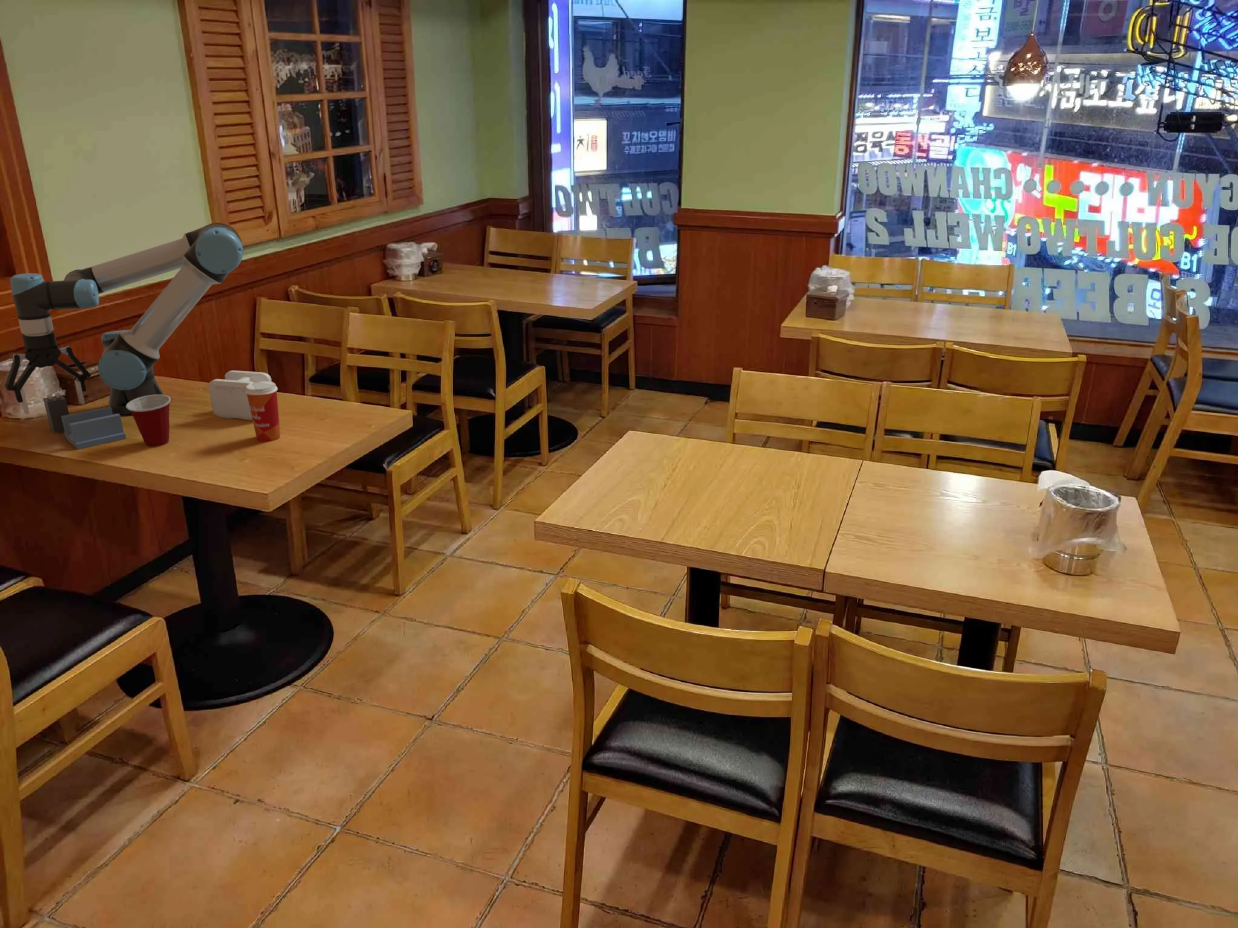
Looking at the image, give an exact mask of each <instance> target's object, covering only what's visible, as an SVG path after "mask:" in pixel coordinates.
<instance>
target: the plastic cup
mask: <svg viewBox="0 0 1238 928" xmlns="http://www.w3.org/2000/svg"><path fill="white" fill-rule="evenodd" d="M171 399H172V398H171V397H170V396H169V395H166V394H164V395H148V396H143V397H139V398H136V399H134V400H132V401H130V402H129V403H127V405H126V408H127V409H128V410H129V411H130V412H131V414H130V415H131V416H132V417H133V420H134V421H135V424H136V427H137V429H138V431H139V433H140V435H141V438H142V440H143V442H144V444H145V446H147V447H149V448H150V447H161V446H165V445H167V444H168V443H169V442H170V403H171Z"/></svg>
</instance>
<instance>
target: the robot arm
mask: <svg viewBox="0 0 1238 928" xmlns="http://www.w3.org/2000/svg"><path fill="white" fill-rule="evenodd" d="M243 247H244V246H243V244H242V239H241V237H240V235H239V233H238V232H237V231H236V230H235V229H234V228H233V227H232V226H230V225H228V224H226V223H222V222H213V223H209V224H206V225H204V226H201V227H200V228H198V229H195V230H192V231H189V232H186V233H184V234H183V236H182V237H181V238H179V239H176V240H172V241H170V242H167V243H163V244H159V245H157V246H153V247H150V248H147V249H144V250H141V251H137V252H134V253H131V254H128V255H125V256H121V257H118V258H114V259H112V260H109V261H105V262H102V263H98V264H95V265H93V266H90V267H86V268H82V269H78V268H77V269H74V270H72V271H70V272H68V273H67V274H66V275H65V276H64V279H63V280H54V281H53V280H52V281H50V280H45V279H44V278H43V275H42V274H40V273H34V272H33V273H32V272H30V273H29V272H28V273H20V274H14V275H13V276H12V277H10V280H9V281H10V288H11V296H12V300H13V302H14V306H15V311H16V314H17V318H18V324H19V329H20V333H21V334H22V336H21V339H22V341H23V346H24V353H16V352H13V354H12V355H11V356H12V363H11V367H10V369H9V372H8V375H7V378H6V381H5V385H4V388H5V389H6V390H7V391H9V392H10V391H13V392H14V395H15V399H16V402H18V404H20V403H21V406H22V409H23V413H24V414H25V415H30V410H29V405H28V402H27V398H26V393H25V390H24V389H23V388H24V386H25V384H26V383H27V381H28V379H29V378H30V376H31V375H32V374H33V372H34V371H35V370H36V368H40V369H41V368H43V369H44V368H45V367H54V365H57V366H59V367H61V368H62V369H63V370H65V371H66V372H67V373H69V374H70V375H72V376H73V377H75V378H76V379H74V383H75V388H76V393H77V397H78V402H79V404H81V405H85V404H86V403H85V397H84V393H83V392H86V391H87V387H86V384H85V383H86V382H85V380H86V379H87V378H91V376H92V374H91V373H90V372H89V371H88V370H87V368H86V367H85V366H84V365H83V364H82V362H81V361H80V360H79V359H78V358H77V357H76V356H75V354H74V351H73V349H72V347H70V346H69V345H65V346H64V347H60V348H59V347H58V343H57V339H56V334H55V332H54V330H55V329H54V324H53V320H52V315H51V311H56V310H73V309H74V310H75V309H77V310H78V309H82V310H86V309H89V308H96V307H99V304H100V294H103V293H106V292H109V291H112V290H115V289H119V288H122V287H125V286H128V285H131V284H134V283H138V282H141V281H143V280H148V279H150V278H153V277H157V276H160V275H163V274H166V273H169V272H173V271H176V270H178V269H179V270H178V271H177V273H176V274H175V275H174V276H173V277H172V279H171V280H170V281H169V283H168V284H167V285H166V286H165V287H164V289H163V290H162V291H161V292H160V294H159V295H158V296H157V298H155V300H153V302H152V303H151V304H150V305H149V307H148V308H147V309H146V311H145V312H144V313H143V314H142V315H141V317H140V318H139V319H138V320H137V322H136V323H135V324H134V325H133V327H131V329H123V330H122V329H121V330H114V331H107V332H104V333H103V334H101V337H100V338H101V345H102V347H103V348H102V349H103V352H102V354H101V357H100V358H99V360H98V363H97V368H98V369H97V371H98V375H99V376H100V379H101V380H102V381H103V382H104V383H105V384H106V385H107V386H109V387H110V393H109V397H108V398H109V399H108V407H109V406H110V407H111V409H112V414H119V415H132V414H131V412H130V411H129V410H128V409H127V408H126V405H127V403H129V402H130V401H132V400H134V399H136V398H139V397H143V396H148V395H165V393H164V392H163V390H162V388H161V387H160V385H159V383H158V381H157V380H156V378H155V377H156V376H155V372H154V369H153V368H154V365H155V364H157V362H158V361H159V359H160V357H161V355H160V352H159V351H160V348H161V347H162V346H163V345H164V344H165V343H166V341H167V340H169V338H170V337H171V335H172V334H173V333H174V331H175V330H177V328H178V327H179V326H180V324H181V323H182V322H183V321H184V320H185V318H186V317H187V316H188V314H189V313H190V312H191V311H192V310H193V309H194V307H195V306H196V305H197V304H198V302H199V301H200V300H201V299H202V297H204V295H205V294H206V293H207V292H208V290H209V289H210V288H211V286H213V285H219V284H222V283H223V281H224V280H225V279H226V278H227V276H228V275H230V273H232V271H235V269H237V268H238V266H240V264H241V262H242V260H243V256H244V249H243ZM61 354H63V355H64V356H67V357H68V358H69V359H70V361H72V363H73V364H74V365H75V366H76V367H77V368H78V370H79V371H80V372H81V373H82V374H80V373H78V372H77V371H76V370H74V369H73V368H72V367H70V366H68V364H66V363H65V362H63V361H62V360H60V359H59V358H60V357H61ZM24 359H26V360H27V361H28V363H27V364H26V367H25V369H24V370H23V371H22V373H21V375H20V376H19V377H18V379H17V376H18V372H19V369H20V366H21V363H22V362H24V361H23V360H24ZM16 379H17V380H16ZM15 381H16V382H15Z"/></svg>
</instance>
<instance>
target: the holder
mask: <svg viewBox="0 0 1238 928" xmlns="http://www.w3.org/2000/svg"><path fill="white" fill-rule="evenodd" d="M61 418H62V422H63V426H64V430H65V431H63V433H64V437H65V439H66V441H68V442H70V444H71V445H72V446H73V447H74V448H75V449H76V450H82V449H87V448H90V447H95V446H99V445H105V444H109V443H112V442H119V441H123V440H126V439H127V436H126V435H127V434H126V433H125V431H124V427H123V423H122V422H123V421H122V418H121V414H115V413H112V409H111V407H110V406H109V405H108V406H104V407H100V408H94V409H90V410H86V411H85V410H84V411H79V412H75V413H69V415H64V416H61Z"/></svg>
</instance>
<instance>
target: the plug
mask: <svg viewBox="0 0 1238 928" xmlns="http://www.w3.org/2000/svg"><path fill="white" fill-rule="evenodd" d="M42 400H43V404H44V408H45V411H46V412H45V413H46V416H47V420H48V423H49V424H48V425H49V428H50V430H51V431H52V432H53V433H54V434H58V433H61V432H63V433H64V432H65V430H64V426H63V422H62V418H61V416H64V415H69V414H70V411H69V407H68V403H67V399H66V397H65V396H63V395H62V394H61V393H60V392H55V393H54V396H53V394H46V397H43V398H42Z"/></svg>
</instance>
